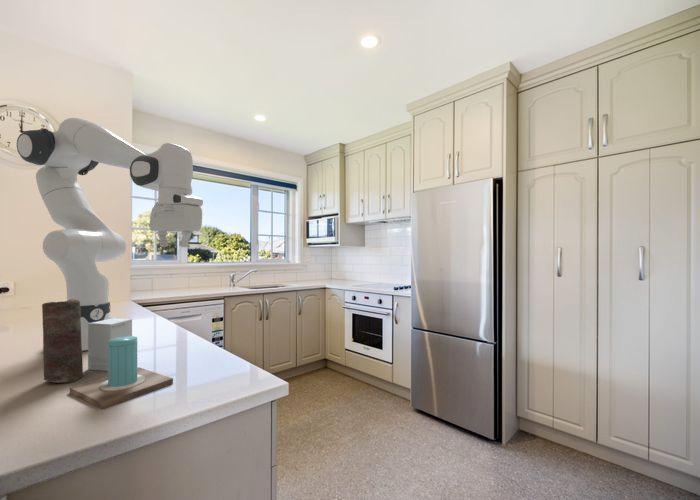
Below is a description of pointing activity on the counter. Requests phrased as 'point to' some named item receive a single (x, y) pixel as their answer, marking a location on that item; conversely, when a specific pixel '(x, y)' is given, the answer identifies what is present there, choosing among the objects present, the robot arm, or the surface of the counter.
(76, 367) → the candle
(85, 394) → the mount plate
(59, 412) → the counter surface
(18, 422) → the counter surface
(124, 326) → the supplement box
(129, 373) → the teal lidded canister
